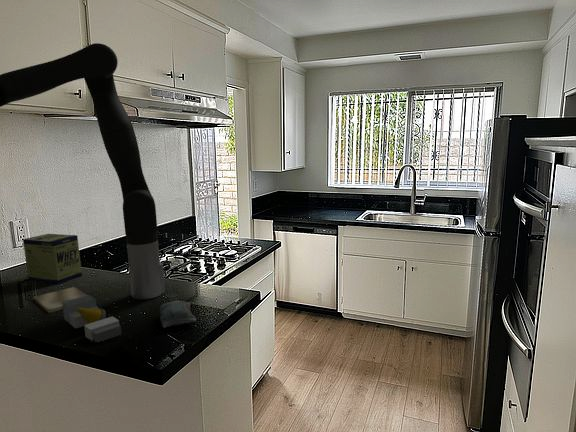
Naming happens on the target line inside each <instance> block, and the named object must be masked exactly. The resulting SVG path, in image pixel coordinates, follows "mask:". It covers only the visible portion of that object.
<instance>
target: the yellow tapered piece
mask: <svg viewBox="0 0 576 432" xmlns="http://www.w3.org/2000/svg"><path fill="white" fill-rule="evenodd" d="M76 309H77V311H78V312H79V313H80V314H81V316H82V317H83V318H84V320H85V321H86V322H87V324H90V323H93V322H96V321H99V320H103V319H106V318H109V316H106V314H107V313H106V310H105V309H104V308H102V307H99V308H97V309H90V308H76Z"/></svg>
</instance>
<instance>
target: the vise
mask: <svg viewBox="0 0 576 432" xmlns="http://www.w3.org/2000/svg"><path fill="white" fill-rule="evenodd" d="M86 295H87V294H86ZM62 304H63V309H62V310H63V320H65V321H66V322H67V323H68V324H70V325H71V326H72V327H73V328H74V329H78V328H82V327H84V335H85V336H84V337H85V338H87V340H89V339H90V340H91V341H90V340H89V341H90V342H94V343H96V342H99V343H101V342H100V341H102V342H105V341H107V339H108V340H110V338H111V339H114V338H116V336H117V337H119V335H120V336H122V325H120V320H119V319H117V318H116V317H114V316H108V318H106V319H103V320H99V321H96V322H93V323H90V324H87V322H86V321H85V320H84V318H83V317H82V316H81V314H80V313H79V312H78V311H77V309H76V308H90V309H97V308H100V307H98V306H97V301H96V298H95V297H93V296H91V295H89V294H88V295H87V296H83V297H79V298H76V299H72V300H68V301H64V302H62ZM113 337H114V338H113ZM92 340H94V341H92ZM104 340H105V341H104Z"/></svg>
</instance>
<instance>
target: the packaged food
mask: <svg viewBox="0 0 576 432" xmlns="http://www.w3.org/2000/svg"><path fill="white" fill-rule="evenodd" d="M191 304H192V302H191V301H183V300H178V299H177V300H173V301H170V302H166V303H162V304H161V305H160V306H159V314H160V317H159V321H160V324H161V326H162V327H163V328H164V329H165V328H167V327H168V328H172V327H171V326H173V327H177V326H176V325H178V326H181V325H180V324H182V325H185V323H186V324H190V323H192V322H193V323H194V322H195V323H196V322H197V317H196V316H195V315H194V314H193V313H192V311H191V308H190V307H191ZM189 322H190V323H189Z"/></svg>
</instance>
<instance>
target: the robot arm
mask: <svg viewBox="0 0 576 432" xmlns="http://www.w3.org/2000/svg"><path fill="white" fill-rule="evenodd" d="M118 61H119V60H118V56H117V54H116V53H115V51H114V50H113V49H112V48H111V47H110V46H108V45H106V44H104V43H99V42H98V43H97V42H96V43H92V44H91V43H90V44H89V45H87V46H86V47H83V48H81V49H79V50H77V51H74V52H72V53H69V54H68V55H65V56H62V57H59V58H56V59H53V60H49V61H47V62H42V63H38V64H35V65H31V66H27V67H23V68H19V69H15V70H10V71H7V72H4V73H2V74H0V108H1V107H4V106H5V105H8V104H10V103H14V102H18V101H22V100H25V99H28V98H32V97H35V96H38V95H41V94H44V93H47V92H48V91H51V90H53V89H55V88H58V87H61V86H63V85H65V84H67V83H70V82H73V81H78V80H82V79H84V82H85V84H86V86H87V89H88V92H89V93H90V97H91V99H92V102H93V107H94V112H95V115H96V121H97V124H98V128H99V132H100V136H101V138H102V143H103V144H104V148H105V150H106V153H107V155H108V158H109V161H110V164H111V165H112V167H113V169H114V171H115V172H116V174H117V178H118V181H119V184H120V188H121V195H122V200H123V202H122V216H123V225H124V232H125V233H124V234H125V239H126V249H127V250H126V251H127V258H128V259H127V260H128V269H129V278H130V289H131V290H130V291H131V297H132V298H133V299H134V300H135V299H136V300H149V299H154V298H157V297H159V296H161V295H163V294H165V293H166V286H165V275H164V265H163V263H161V258H160V250H159V249H160V248H159V237H158V235H159V233H158V221H157V209H156V201H155V199H154V197H153V195H152V193H151V191H150V187H149V185H148V184H147V181H146V179H145V176H144V172H143V167H142V159H141V154H140V153H141V152H140V149H139V142H138V139H137V136H136V132H135V128H134V126H133V123H132V119H131V118H130V116H129V115H128V113H127V111H126V109H125V107H124V106H123V105H124V104H122V102H121V100H120V97H119V95H118V91H117V87H116V83H115V79H114V73H115V72H116V70H117V67H118V63H119V62H118Z"/></svg>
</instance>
